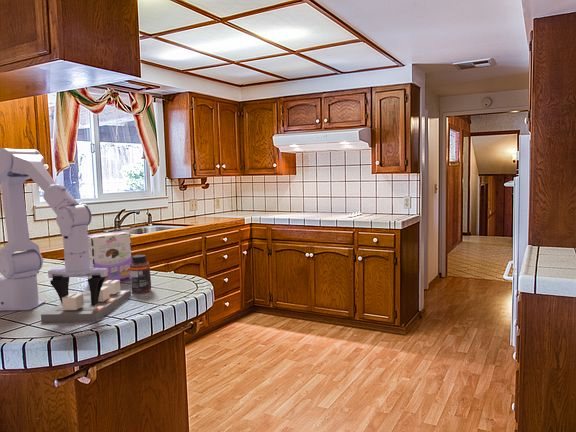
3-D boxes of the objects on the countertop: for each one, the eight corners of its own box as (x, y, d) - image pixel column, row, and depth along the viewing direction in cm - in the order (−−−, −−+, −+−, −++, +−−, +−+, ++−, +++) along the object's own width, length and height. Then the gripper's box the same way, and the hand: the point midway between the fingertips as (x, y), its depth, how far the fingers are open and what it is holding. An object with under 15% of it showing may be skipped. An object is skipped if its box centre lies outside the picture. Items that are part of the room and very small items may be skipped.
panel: (41, 322, 114) (40, 313, 114) (85, 297, 137) (84, 289, 137) (96, 321, 114) (95, 312, 114) (131, 296, 137) (130, 289, 136)
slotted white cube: (62, 310, 116) (61, 297, 116) (70, 305, 120) (69, 293, 120) (76, 310, 116) (75, 297, 115) (83, 305, 120) (83, 293, 119)
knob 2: (102, 294, 131) (102, 283, 130) (108, 290, 135) (108, 279, 134) (114, 294, 131) (114, 282, 130) (120, 290, 135) (119, 279, 134)
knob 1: (90, 301, 123) (89, 289, 123) (97, 297, 127) (96, 286, 127) (103, 301, 123) (102, 289, 123) (109, 297, 127) (109, 285, 127)
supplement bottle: (144, 288, 147) (142, 253, 146) (155, 290, 143) (153, 255, 142) (127, 292, 142) (125, 256, 141) (138, 295, 138) (136, 258, 137)
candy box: (126, 276, 165) (123, 231, 163) (133, 278, 161) (131, 232, 159) (87, 283, 155) (84, 235, 154) (94, 286, 151) (91, 236, 150)
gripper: (39, 255, 113) (43, 309, 114) (97, 254, 112) (101, 308, 113) (55, 250, 120) (58, 301, 121) (109, 249, 119) (112, 300, 120)
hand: (80, 304), depth 118 cm, fingers open, 7 cm apart
